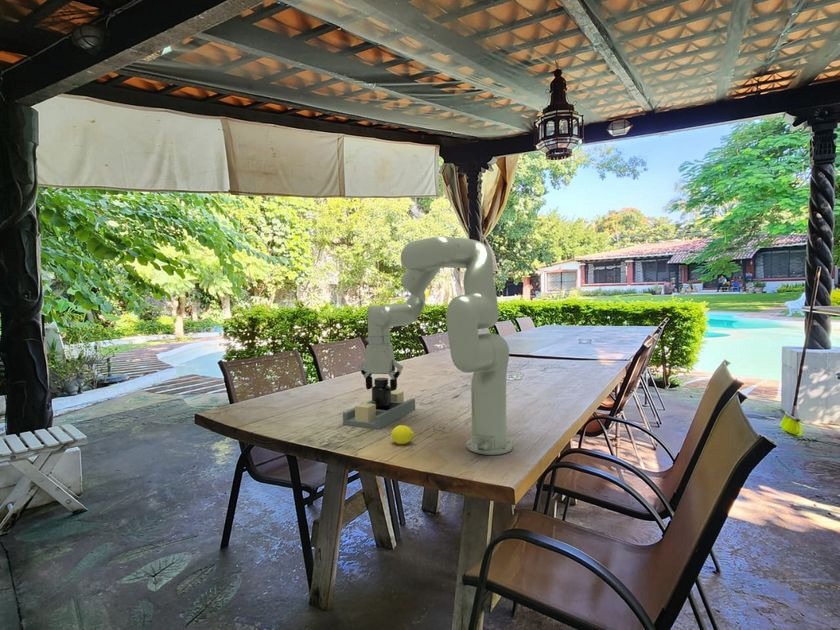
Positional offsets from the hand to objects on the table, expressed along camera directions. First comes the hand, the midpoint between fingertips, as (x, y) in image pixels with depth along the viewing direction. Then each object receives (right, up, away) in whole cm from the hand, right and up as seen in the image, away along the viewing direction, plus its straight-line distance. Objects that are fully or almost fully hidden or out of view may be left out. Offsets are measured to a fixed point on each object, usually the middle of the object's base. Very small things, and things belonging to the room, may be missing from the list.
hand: (381, 389), depth 156 cm
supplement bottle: (0, -8, +1) cm, 8 cm away
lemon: (+9, -11, -28) cm, 31 cm away
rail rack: (0, -10, +1) cm, 10 cm away
